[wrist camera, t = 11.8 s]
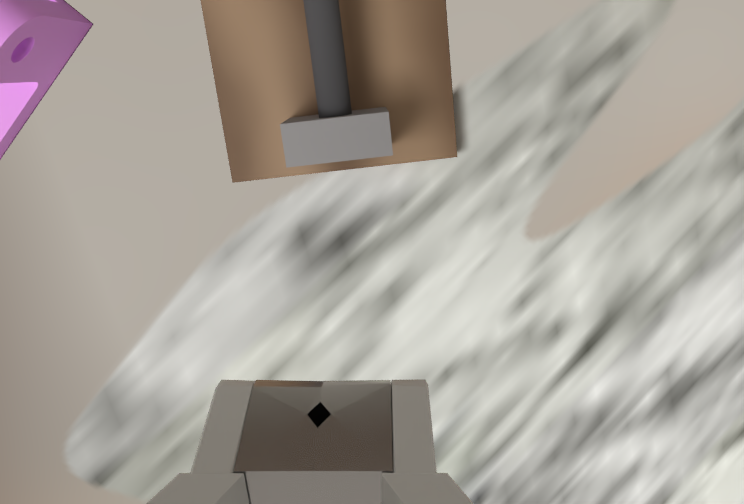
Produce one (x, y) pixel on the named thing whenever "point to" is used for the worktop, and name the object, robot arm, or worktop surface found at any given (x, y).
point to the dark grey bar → (333, 102)
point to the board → (296, 82)
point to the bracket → (33, 56)
